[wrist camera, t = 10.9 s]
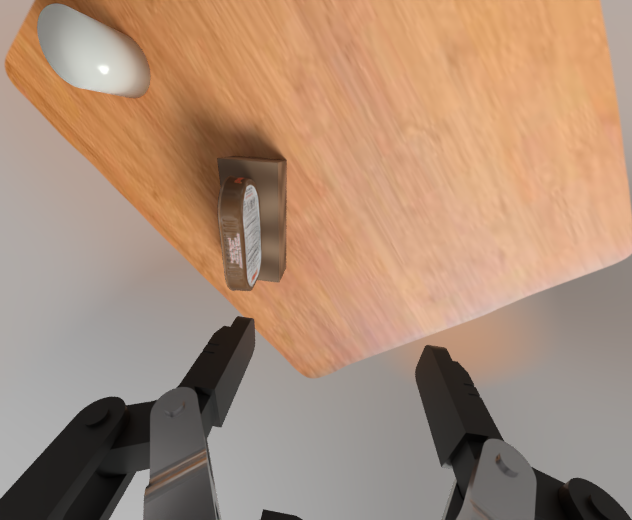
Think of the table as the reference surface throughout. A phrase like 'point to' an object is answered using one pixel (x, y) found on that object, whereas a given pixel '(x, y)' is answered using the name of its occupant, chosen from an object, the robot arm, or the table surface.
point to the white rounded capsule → (92, 53)
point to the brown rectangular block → (265, 207)
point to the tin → (240, 232)
